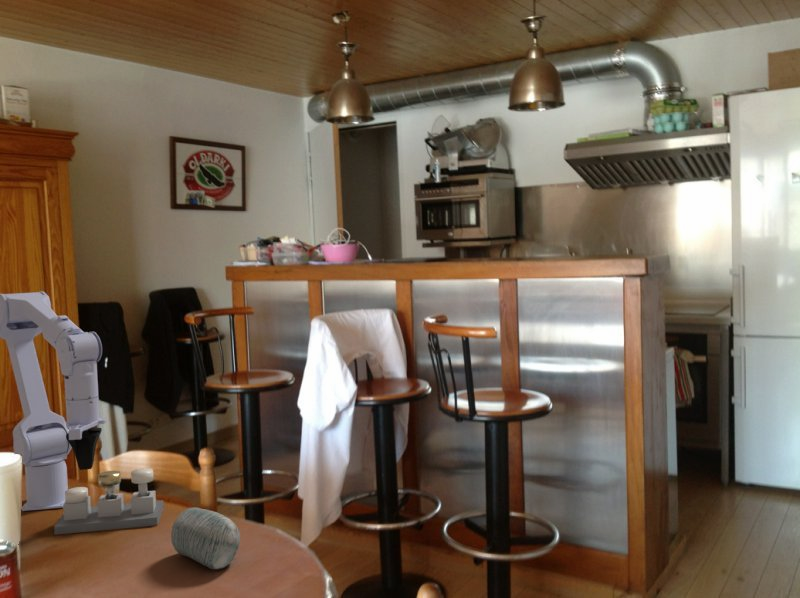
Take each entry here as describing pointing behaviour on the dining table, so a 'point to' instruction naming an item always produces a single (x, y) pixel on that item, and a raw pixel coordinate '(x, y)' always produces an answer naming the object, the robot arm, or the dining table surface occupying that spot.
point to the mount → (110, 514)
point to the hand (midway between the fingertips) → (86, 468)
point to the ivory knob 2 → (142, 479)
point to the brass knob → (109, 482)
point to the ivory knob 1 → (76, 495)
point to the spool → (205, 537)
